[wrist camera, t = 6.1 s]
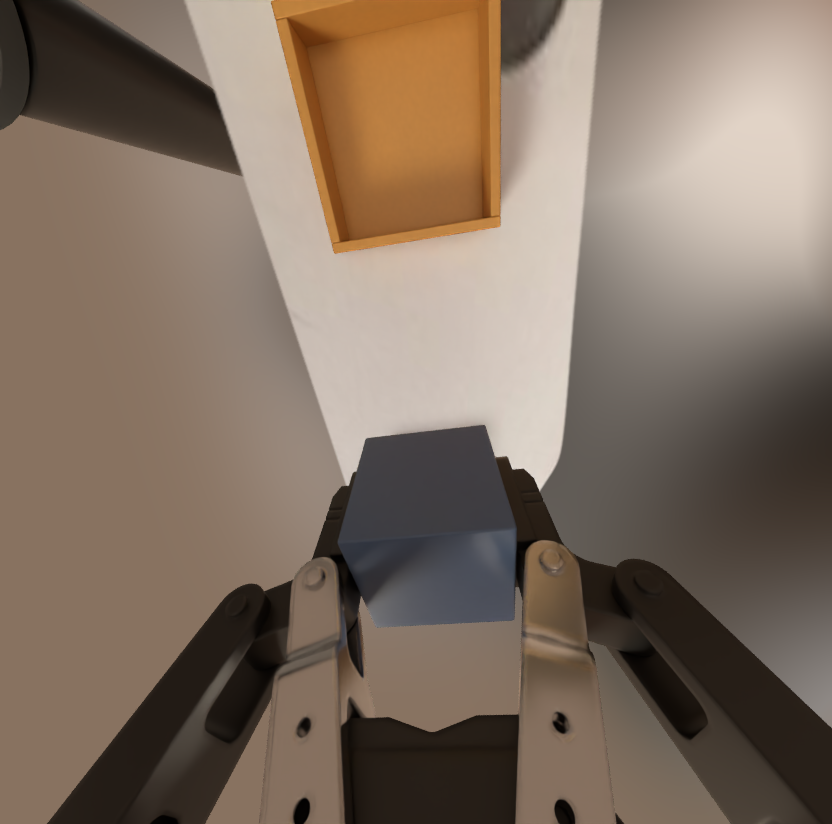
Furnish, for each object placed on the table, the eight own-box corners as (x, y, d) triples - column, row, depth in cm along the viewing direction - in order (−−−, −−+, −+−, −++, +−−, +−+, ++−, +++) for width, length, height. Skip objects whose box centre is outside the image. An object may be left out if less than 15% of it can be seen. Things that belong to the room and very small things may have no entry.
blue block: (365, 437, 11) (335, 543, 7) (485, 423, 11) (517, 528, 7) (389, 516, 14) (375, 628, 10) (488, 508, 13) (515, 621, 9)
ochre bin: (297, 40, 17) (270, 0, 14) (486, -4, 16) (501, -57, 13) (345, 250, 23) (334, 253, 20) (489, 226, 22) (500, 226, 19)
